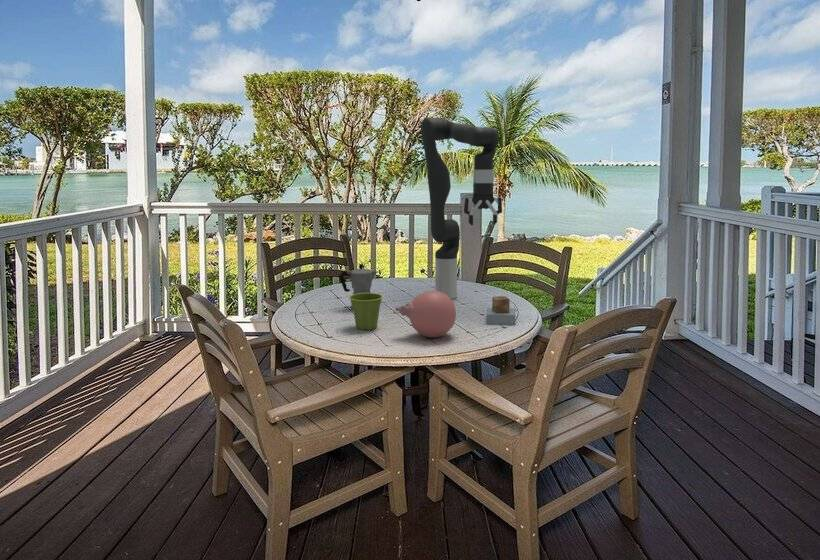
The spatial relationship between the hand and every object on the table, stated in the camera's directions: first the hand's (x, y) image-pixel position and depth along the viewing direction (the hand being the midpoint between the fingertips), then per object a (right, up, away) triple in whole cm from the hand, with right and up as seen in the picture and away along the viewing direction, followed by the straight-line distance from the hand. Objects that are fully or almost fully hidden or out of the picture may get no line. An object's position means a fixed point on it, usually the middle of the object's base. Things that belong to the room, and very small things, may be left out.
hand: (482, 224), depth 225 cm
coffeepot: (-48, -33, +9) cm, 59 cm away
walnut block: (+5, -32, -12) cm, 35 cm away
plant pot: (-43, -38, -18) cm, 60 cm away
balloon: (-23, -40, -30) cm, 55 cm away
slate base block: (+5, -36, -11) cm, 38 cm away
